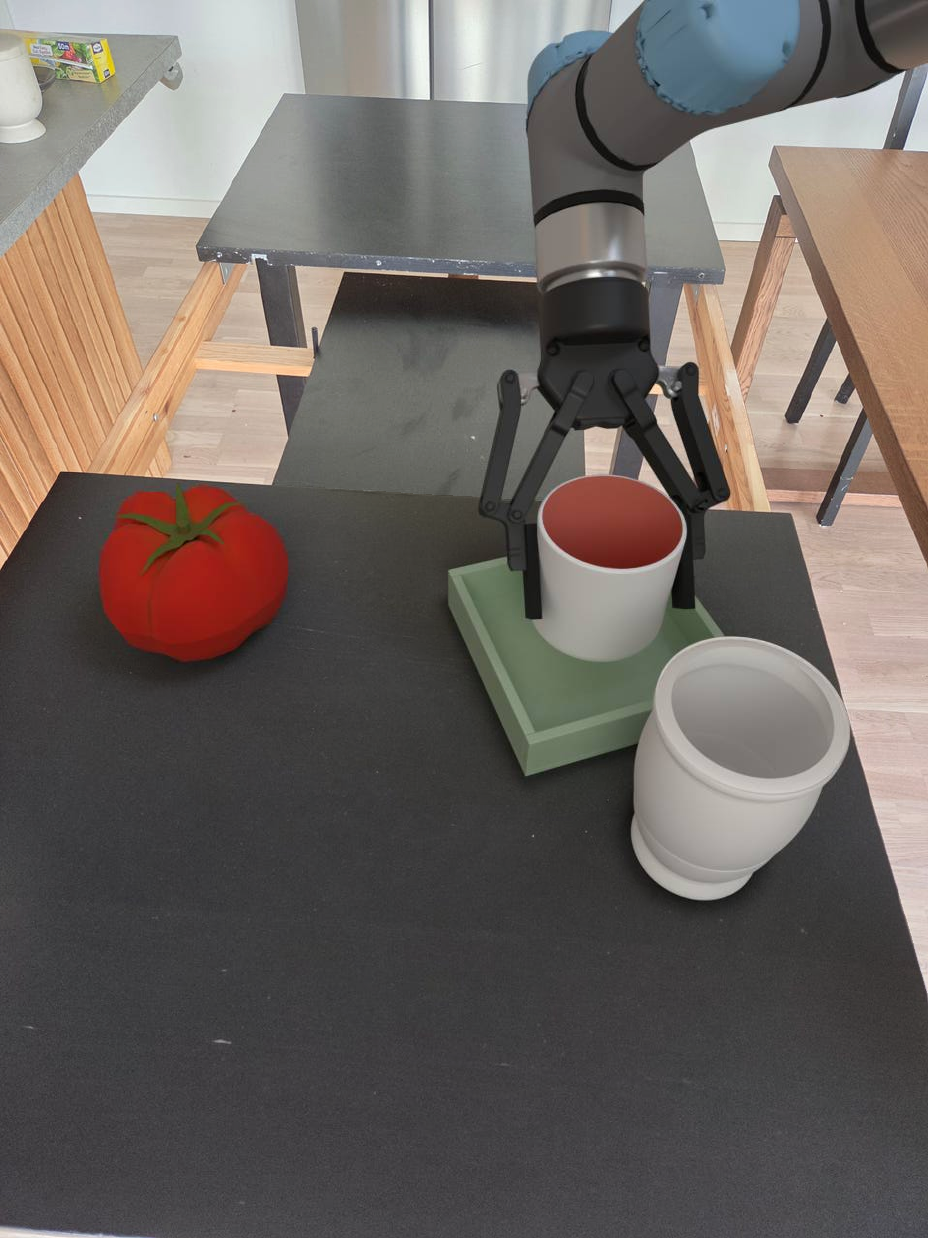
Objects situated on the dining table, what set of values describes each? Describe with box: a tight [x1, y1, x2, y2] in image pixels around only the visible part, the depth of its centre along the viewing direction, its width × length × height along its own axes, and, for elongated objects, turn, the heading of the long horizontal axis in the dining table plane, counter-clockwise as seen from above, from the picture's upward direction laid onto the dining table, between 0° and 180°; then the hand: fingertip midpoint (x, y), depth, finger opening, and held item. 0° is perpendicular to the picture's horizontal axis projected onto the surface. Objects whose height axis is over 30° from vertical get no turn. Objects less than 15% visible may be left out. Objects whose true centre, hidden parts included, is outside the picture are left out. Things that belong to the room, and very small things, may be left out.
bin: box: [447, 556, 726, 777], centre depth 66 cm, size 18×18×4 cm
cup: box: [532, 473, 687, 662], centre depth 60 cm, size 10×10×10 cm
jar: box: [630, 636, 851, 901], centre depth 51 cm, size 11×10×15 cm
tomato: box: [98, 480, 290, 663], centre depth 65 cm, size 13×14×12 cm
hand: (609, 613), depth 59 cm, fingers closed on cup, 10 cm apart
